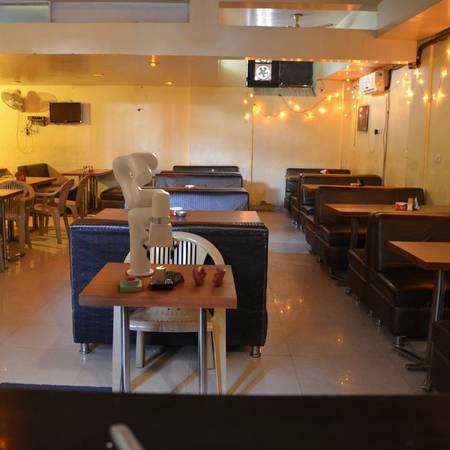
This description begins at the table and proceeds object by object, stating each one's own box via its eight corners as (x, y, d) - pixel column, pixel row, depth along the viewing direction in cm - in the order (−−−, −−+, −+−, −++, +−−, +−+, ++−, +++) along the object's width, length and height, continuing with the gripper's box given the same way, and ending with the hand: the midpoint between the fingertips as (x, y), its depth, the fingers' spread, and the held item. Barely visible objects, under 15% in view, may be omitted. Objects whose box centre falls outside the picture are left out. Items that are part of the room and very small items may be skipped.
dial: (156, 281, 222) (156, 268, 221) (155, 278, 226) (155, 265, 225) (166, 281, 223) (166, 268, 222) (165, 278, 227) (165, 265, 226)
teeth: (195, 262, 237) (227, 264, 235) (195, 278, 239) (227, 281, 236) (190, 268, 227) (223, 271, 224) (190, 285, 228) (223, 288, 226)
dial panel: (149, 283, 230) (149, 276, 229) (170, 282, 231) (170, 275, 231) (151, 290, 219) (151, 283, 218) (172, 289, 221) (172, 282, 220)
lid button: (125, 279, 222) (125, 275, 222) (135, 279, 223) (135, 275, 223) (126, 281, 219) (125, 277, 218) (135, 281, 219) (135, 277, 219)
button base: (120, 285, 226) (120, 276, 225) (140, 284, 227) (140, 276, 227) (120, 292, 216) (119, 283, 215) (141, 291, 218) (141, 282, 217)
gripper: (140, 222, 215) (140, 261, 218) (181, 222, 218) (181, 261, 222) (139, 218, 222) (139, 257, 225) (179, 218, 225) (179, 256, 229)
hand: (160, 259), depth 224 cm, fingers open, 9 cm apart
